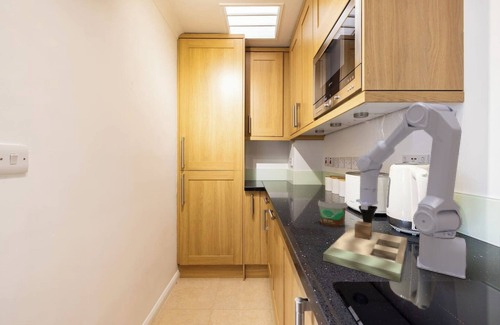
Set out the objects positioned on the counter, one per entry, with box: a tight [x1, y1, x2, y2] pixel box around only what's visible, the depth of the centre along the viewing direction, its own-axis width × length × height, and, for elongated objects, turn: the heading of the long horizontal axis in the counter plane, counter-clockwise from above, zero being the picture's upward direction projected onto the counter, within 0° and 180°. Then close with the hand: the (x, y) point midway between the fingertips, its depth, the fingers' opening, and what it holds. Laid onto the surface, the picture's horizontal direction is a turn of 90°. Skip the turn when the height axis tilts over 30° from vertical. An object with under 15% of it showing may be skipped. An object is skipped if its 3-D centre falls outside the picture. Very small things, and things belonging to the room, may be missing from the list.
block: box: [354, 220, 373, 240], centre depth 78 cm, size 4×4×4 cm
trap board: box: [322, 227, 408, 283], centre depth 71 cm, size 18×30×2 cm, turn 143°
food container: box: [317, 199, 348, 228], centre depth 98 cm, size 12×6×10 cm, turn 62°
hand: (367, 225), depth 84 cm, fingers closed
